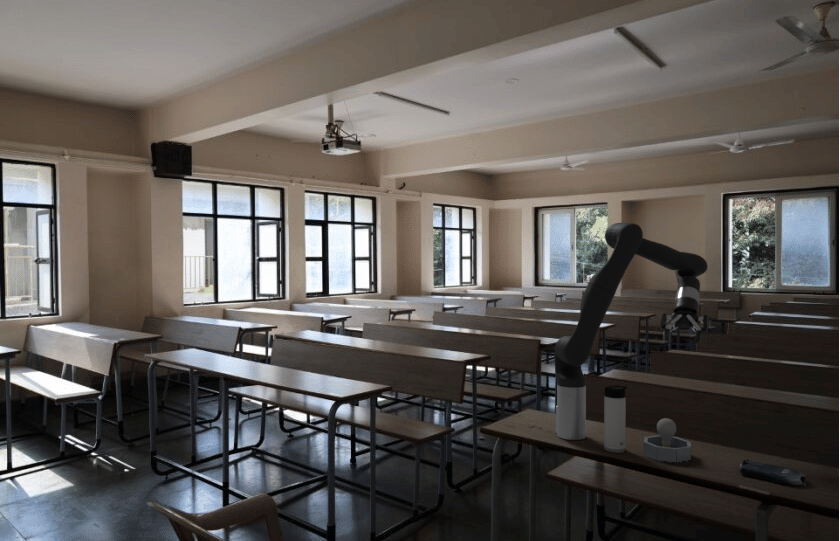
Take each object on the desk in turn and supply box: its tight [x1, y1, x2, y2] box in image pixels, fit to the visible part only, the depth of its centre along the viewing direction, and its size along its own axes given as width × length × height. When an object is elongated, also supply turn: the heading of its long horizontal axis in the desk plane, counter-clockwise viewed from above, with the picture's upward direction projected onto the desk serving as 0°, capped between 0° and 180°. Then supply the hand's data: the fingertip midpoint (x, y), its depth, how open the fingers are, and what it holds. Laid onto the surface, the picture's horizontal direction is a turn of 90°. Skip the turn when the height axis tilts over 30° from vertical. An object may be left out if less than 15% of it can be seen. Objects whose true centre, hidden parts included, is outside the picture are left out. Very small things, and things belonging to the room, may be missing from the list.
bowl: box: [643, 434, 692, 464], centre depth 182 cm, size 13×13×4 cm
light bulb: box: [656, 417, 677, 447], centre depth 183 cm, size 6×6×10 cm
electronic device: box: [738, 458, 807, 487], centre depth 164 cm, size 9×6×15 cm
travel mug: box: [603, 384, 628, 454], centre depth 187 cm, size 6×7×20 cm
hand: (682, 341), depth 195 cm, fingers open, 8 cm apart
